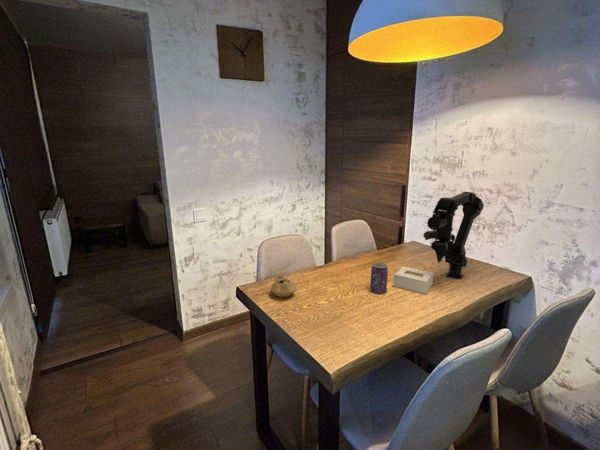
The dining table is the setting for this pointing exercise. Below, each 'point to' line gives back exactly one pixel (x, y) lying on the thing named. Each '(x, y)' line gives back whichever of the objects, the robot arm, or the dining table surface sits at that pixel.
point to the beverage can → (379, 277)
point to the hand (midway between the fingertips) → (441, 259)
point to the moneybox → (413, 280)
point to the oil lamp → (283, 287)
